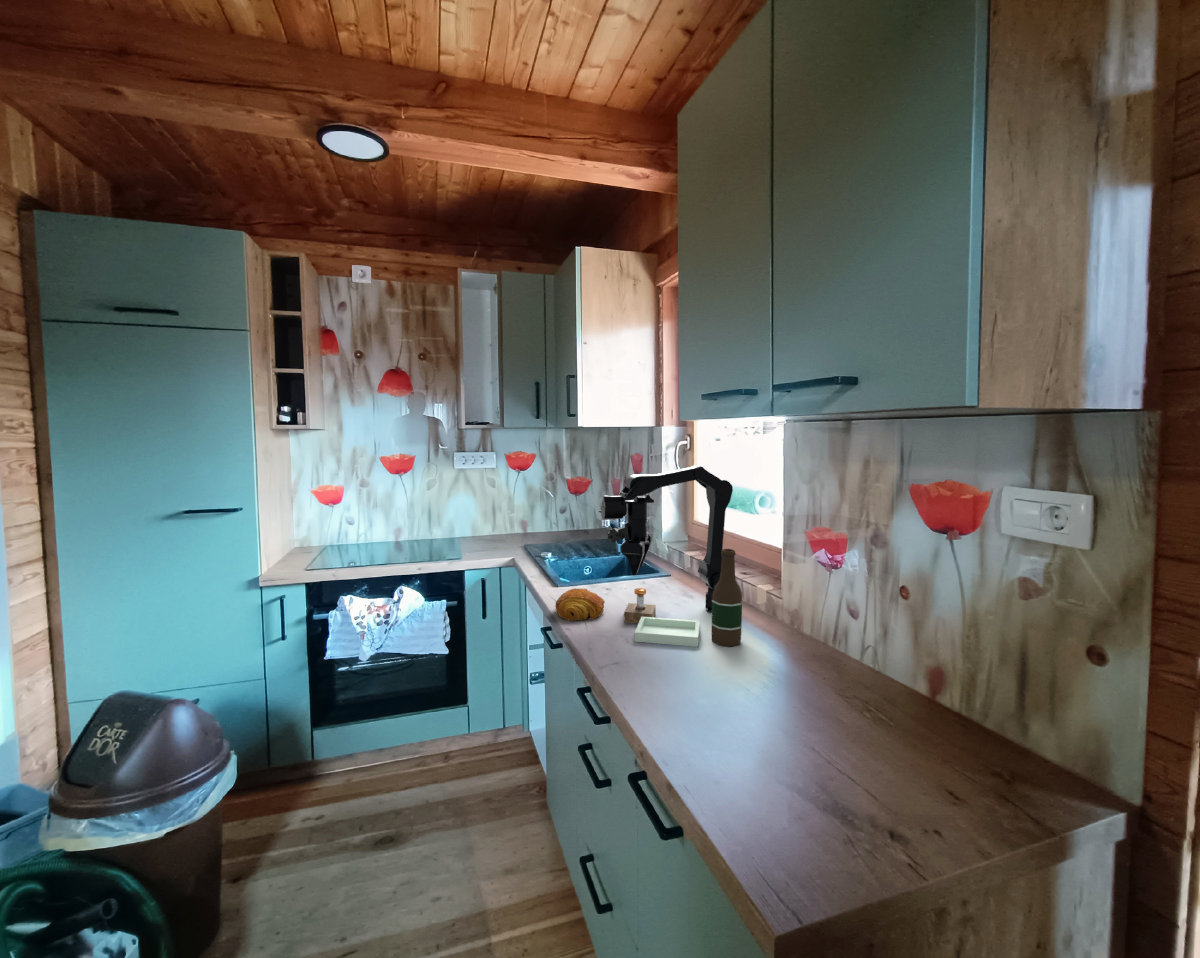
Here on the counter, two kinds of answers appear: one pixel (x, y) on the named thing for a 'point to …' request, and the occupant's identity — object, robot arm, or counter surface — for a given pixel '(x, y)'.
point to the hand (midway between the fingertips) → (637, 571)
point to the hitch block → (638, 612)
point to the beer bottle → (727, 604)
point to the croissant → (579, 605)
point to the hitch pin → (640, 597)
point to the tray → (668, 631)
